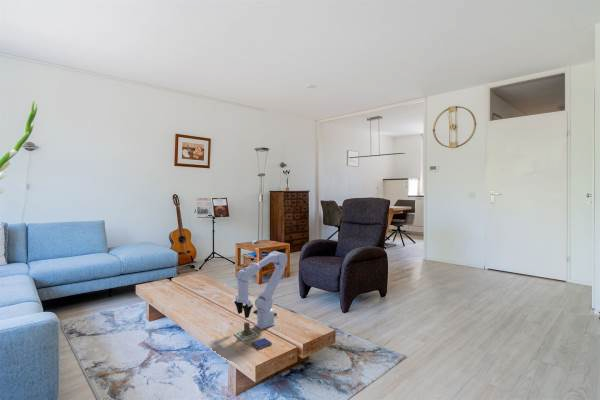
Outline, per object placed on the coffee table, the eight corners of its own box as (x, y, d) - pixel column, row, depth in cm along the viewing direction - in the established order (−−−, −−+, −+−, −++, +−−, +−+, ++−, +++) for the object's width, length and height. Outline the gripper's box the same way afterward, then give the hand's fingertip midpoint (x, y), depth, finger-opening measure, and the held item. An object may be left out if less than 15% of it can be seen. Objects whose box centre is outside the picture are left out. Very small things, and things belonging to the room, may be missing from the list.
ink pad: (264, 339, 172) (264, 337, 172) (271, 344, 167) (271, 342, 167) (251, 344, 168) (251, 341, 167) (258, 349, 162) (258, 347, 162)
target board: (250, 329, 185) (250, 328, 185) (259, 335, 177) (259, 334, 177) (234, 334, 178) (234, 333, 178) (242, 341, 171) (242, 340, 171)
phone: (262, 307, 215) (277, 313, 205) (262, 309, 215) (277, 315, 205) (252, 311, 209) (268, 317, 199) (252, 313, 209) (268, 319, 199)
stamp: (248, 331, 181) (248, 320, 180) (252, 333, 178) (252, 323, 178) (241, 334, 178) (241, 323, 177) (245, 336, 175) (244, 325, 174)
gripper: (230, 289, 184) (230, 313, 184) (243, 296, 172) (243, 321, 173) (241, 287, 188) (241, 310, 189) (254, 293, 177) (255, 318, 178)
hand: (243, 315), depth 181 cm, fingers open, 7 cm apart
